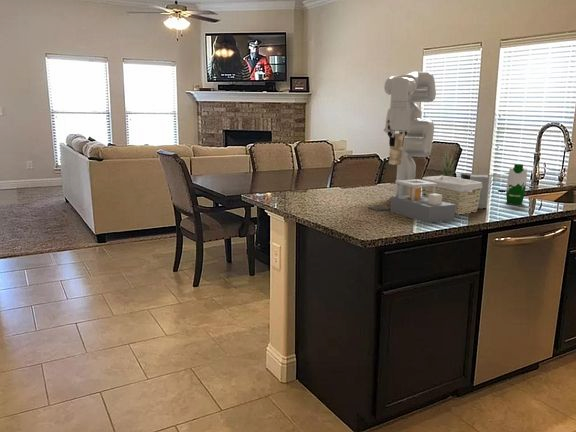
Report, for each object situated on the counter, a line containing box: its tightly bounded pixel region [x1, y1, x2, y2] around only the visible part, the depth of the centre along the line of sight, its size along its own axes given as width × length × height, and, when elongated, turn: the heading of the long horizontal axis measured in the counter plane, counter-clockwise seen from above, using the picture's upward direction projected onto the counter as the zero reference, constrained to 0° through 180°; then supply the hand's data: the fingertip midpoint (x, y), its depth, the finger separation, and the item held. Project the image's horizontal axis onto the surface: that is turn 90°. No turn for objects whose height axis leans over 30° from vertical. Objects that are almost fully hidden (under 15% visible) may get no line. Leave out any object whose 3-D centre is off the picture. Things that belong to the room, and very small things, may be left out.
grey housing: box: [389, 178, 456, 224], centre depth 224 cm, size 26×14×14 cm, turn 25°
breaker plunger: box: [409, 187, 422, 200], centre depth 228 cm, size 5×5×8 cm
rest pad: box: [368, 205, 391, 212], centre depth 238 cm, size 7×7×1 cm
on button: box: [428, 193, 442, 205], centre depth 217 cm, size 4×4×7 cm
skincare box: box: [470, 174, 489, 209], centre depth 245 cm, size 8×7×16 cm
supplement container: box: [460, 172, 480, 180], centre depth 278 cm, size 10×10×12 cm
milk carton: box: [505, 163, 528, 205], centre depth 258 cm, size 9×9×20 cm
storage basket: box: [421, 175, 482, 216], centre depth 238 cm, size 24×16×15 cm
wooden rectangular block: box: [388, 133, 403, 166], centre depth 234 cm, size 4×4×14 cm
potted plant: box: [439, 151, 457, 177], centre depth 298 cm, size 10×10×25 cm
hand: (396, 145), depth 234 cm, fingers closed on wooden rectangular block, 4 cm apart
